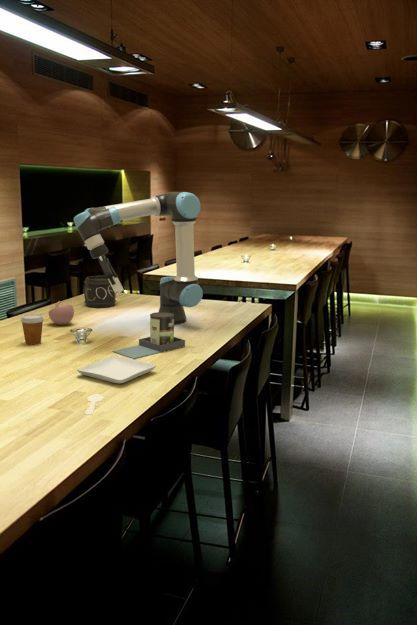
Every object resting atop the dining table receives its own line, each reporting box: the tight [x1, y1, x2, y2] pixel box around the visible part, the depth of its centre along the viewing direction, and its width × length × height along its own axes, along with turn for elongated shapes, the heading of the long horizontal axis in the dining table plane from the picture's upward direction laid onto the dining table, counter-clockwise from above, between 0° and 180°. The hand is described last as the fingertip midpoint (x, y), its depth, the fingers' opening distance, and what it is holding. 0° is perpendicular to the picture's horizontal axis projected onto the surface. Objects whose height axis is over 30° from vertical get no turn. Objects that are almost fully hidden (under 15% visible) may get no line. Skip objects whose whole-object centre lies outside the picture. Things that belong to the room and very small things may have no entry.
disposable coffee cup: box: [20, 313, 45, 346], centre depth 258 cm, size 10×10×12 cm
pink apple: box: [48, 300, 75, 326], centre depth 293 cm, size 12×12×12 cm
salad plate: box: [76, 355, 157, 384], centre depth 220 cm, size 21×21×3 cm
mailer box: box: [112, 336, 186, 360], centre depth 254 cm, size 28×14×3 cm, turn 136°
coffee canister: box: [83, 275, 118, 309], centre depth 339 cm, size 18×18×16 cm
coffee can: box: [149, 311, 175, 345], centre depth 258 cm, size 10×10×14 cm
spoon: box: [84, 393, 105, 416], centre depth 191 cm, size 5×18×1 cm, turn 2°
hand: (119, 291), depth 258 cm, fingers open, 13 cm apart
